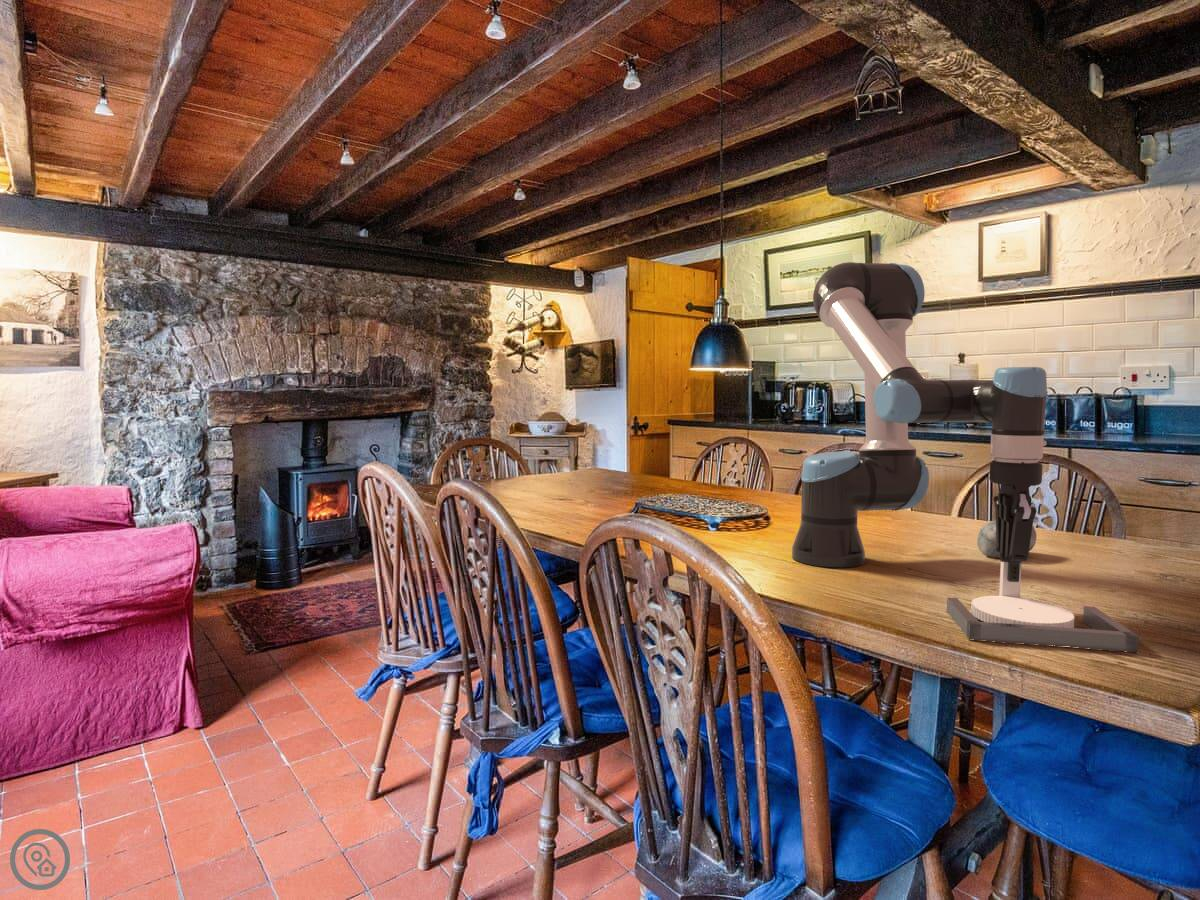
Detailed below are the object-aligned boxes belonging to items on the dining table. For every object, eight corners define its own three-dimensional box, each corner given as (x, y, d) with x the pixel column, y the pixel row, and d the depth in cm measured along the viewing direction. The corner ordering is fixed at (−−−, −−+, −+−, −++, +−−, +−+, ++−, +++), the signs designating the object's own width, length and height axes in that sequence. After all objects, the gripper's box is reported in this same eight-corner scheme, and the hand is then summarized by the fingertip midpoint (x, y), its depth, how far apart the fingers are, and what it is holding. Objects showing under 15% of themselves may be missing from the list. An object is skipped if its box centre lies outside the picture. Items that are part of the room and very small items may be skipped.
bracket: (969, 640, 102) (970, 624, 102) (946, 612, 116) (947, 597, 115) (1137, 653, 97) (1138, 635, 97) (1093, 622, 110) (1094, 606, 110)
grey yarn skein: (1004, 533, 163) (1017, 500, 158) (1039, 558, 156) (1054, 525, 150) (960, 551, 159) (972, 518, 153) (995, 578, 152) (1008, 545, 146)
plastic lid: (980, 605, 120) (981, 590, 120) (1078, 622, 111) (1079, 606, 111) (961, 626, 109) (962, 610, 109) (1067, 647, 101) (1068, 630, 100)
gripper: (1057, 464, 108) (1049, 612, 110) (1027, 456, 121) (1020, 589, 123) (1004, 463, 110) (997, 608, 112) (979, 456, 123) (973, 586, 125)
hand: (1009, 598), depth 118 cm, fingers closed
